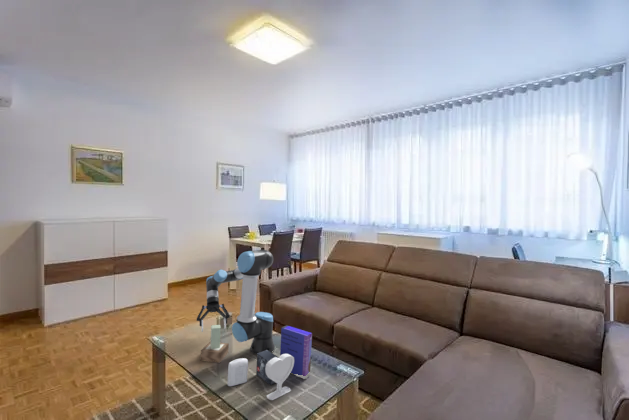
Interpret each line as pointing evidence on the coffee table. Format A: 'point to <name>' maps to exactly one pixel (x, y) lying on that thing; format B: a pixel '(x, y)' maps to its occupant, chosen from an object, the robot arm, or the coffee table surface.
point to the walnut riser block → (214, 352)
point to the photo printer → (237, 371)
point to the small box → (264, 365)
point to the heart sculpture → (279, 373)
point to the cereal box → (297, 348)
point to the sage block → (215, 336)
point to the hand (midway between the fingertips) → (213, 329)
